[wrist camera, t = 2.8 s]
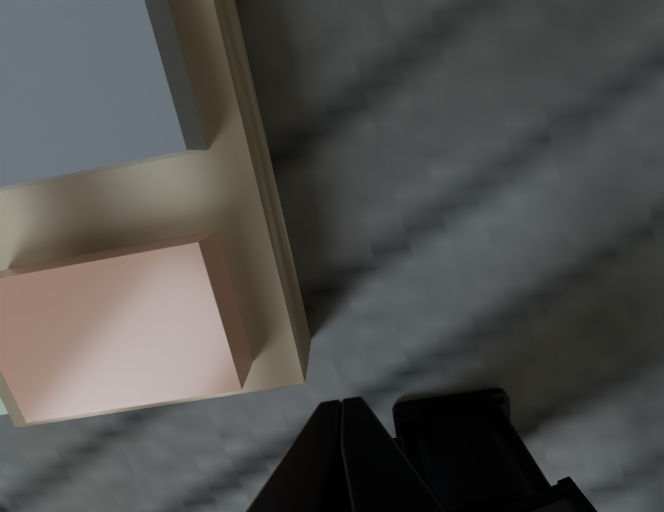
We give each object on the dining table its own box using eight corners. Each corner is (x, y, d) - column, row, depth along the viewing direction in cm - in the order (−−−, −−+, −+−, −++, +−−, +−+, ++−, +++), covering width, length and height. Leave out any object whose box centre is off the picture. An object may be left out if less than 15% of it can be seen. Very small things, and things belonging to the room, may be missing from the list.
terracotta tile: (216, 230, 14) (198, 242, 13) (253, 361, 16) (241, 390, 14) (7, 268, 15) (-42, 285, 13) (62, 391, 17) (26, 423, 15)
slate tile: (157, -37, 12) (123, -73, 10) (208, 150, 14) (186, 149, 12) (-90, 22, 13) (-167, -2, 11) (-14, 194, 14) (-69, 201, 12)
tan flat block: (226, -39, 15) (188, -103, 11) (311, 339, 20) (304, 383, 16) (-76, 32, 16) (-205, -5, 12) (74, 377, 21) (15, 427, 17)
